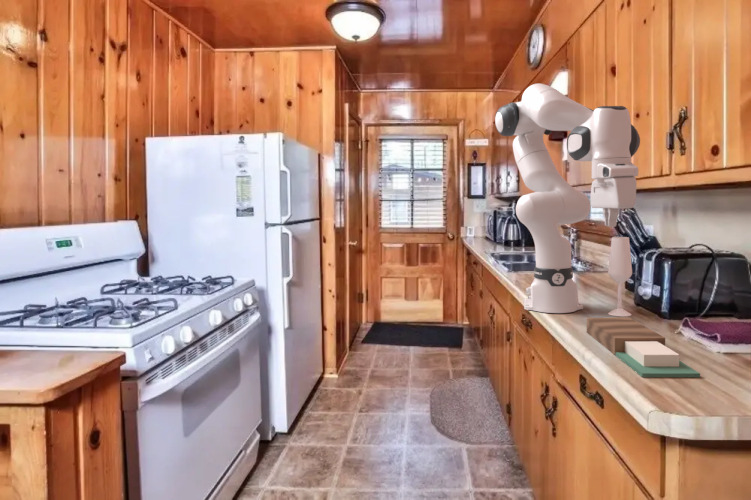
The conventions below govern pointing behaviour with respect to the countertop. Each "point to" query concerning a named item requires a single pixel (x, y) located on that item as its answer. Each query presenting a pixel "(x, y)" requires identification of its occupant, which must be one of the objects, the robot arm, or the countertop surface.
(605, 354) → the countertop surface
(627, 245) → the champagne flute
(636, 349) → the cream block
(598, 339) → the brown striped block
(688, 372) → the mat
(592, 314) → the countertop surface
